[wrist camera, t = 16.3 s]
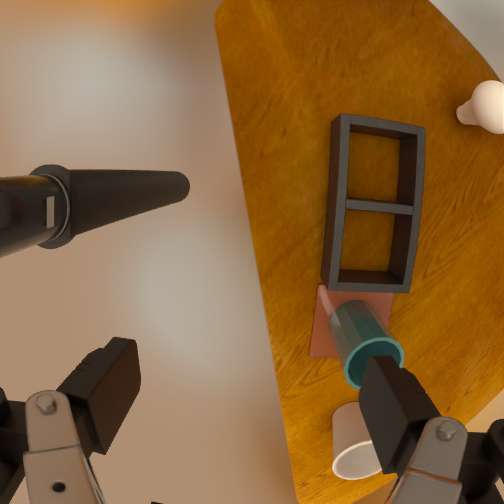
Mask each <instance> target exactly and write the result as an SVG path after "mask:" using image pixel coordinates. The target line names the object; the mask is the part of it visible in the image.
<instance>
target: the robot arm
mask: <svg viewBox="0 0 504 504" xmlns="http://www.w3.org/2000/svg"><path fill="white" fill-rule="evenodd" d="M70 217H71V200H70V195H69V192H68V190H67V188H66V186H65V184H64V183H63V182H62V181H61V180H60V179H59V178H58V177H57V176H55V175H52V174H39V175H28V176H12V177H0V258H3V257H5V256H8V255H10V254H13V253H16V252H18V251H21V250H24V249H26V248H29V247H32V246H35V245H38V244H41V243H43V242H47V241H51V240H54V239H56V238H58V237H60V236H61V235H62V234H63V233H64V231H65V230H66V228H67V226H68V224H69V221H70ZM140 385H141V374H140V366H139V358H138V350H137V344H136V341H135V340H132V339H126V338H120V337H113V338H112V339H111V340H110V342H109V343H108V344H107V345H106V346H105V347H104V348H98V349H96V350H95V351H93V352H91V353H89V354H88V355H87V356H86V357H85V358H84V359H83V360H82V362H81V363H80V364H79V365H78V366H77V367H76V369H75V370H73V371H72V372H71V374H70V375H69V376H68V377H67V378H66V379H65V380H64V382H63V383H62V384H61V385H60V386H59V387H58V388H57V389H56V391H54V390H45V391H40V392H37V393H35V394H33V395H32V396H31V397H29V398H28V400H27V402H19V401H9V400H7V398H6V396H5V393H4V391H3V389H2V388H1V387H0V504H9V503H10V501H11V499H12V497H13V496H14V494H15V492H16V490H17V488H18V487H19V485H20V483H21V482H22V480H23V478H24V477H25V476H26V483H27V489H28V494H29V500H30V504H107V503H106V500H105V498H104V496H103V493H102V491H101V488H100V486H99V483H98V481H97V478H96V475H95V473H94V470H93V467H92V465H91V462H90V459H89V457H90V455H91V454H92V452H97V453H100V454H103V455H106V453H107V451H108V449H109V447H110V445H111V443H112V441H113V439H114V437H115V436H116V434H117V432H118V430H119V428H120V426H121V424H122V422H123V421H124V419H125V417H126V415H127V413H128V411H129V409H130V408H131V406H132V404H133V402H134V400H135V398H136V396H137V395H138V392H139V390H140ZM420 385H421V384H420V383H419V381H418V380H417V378H416V377H415V375H413V374H412V373H410V372H409V371H408V370H406V369H405V368H400V367H399V365H398V364H397V362H396V361H395V359H394V358H393V356H392V355H375V356H370V357H369V359H368V362H367V365H366V369H365V373H364V377H363V381H362V384H361V388H360V392H359V408H360V410H361V413H362V416H363V419H364V421H365V424H366V427H367V429H368V432H369V435H370V438H371V440H372V443H373V446H374V449H375V452H376V455H377V457H378V460H379V463H380V466H381V469H382V472H383V475H384V474H390V473H397V476H398V478H397V480H396V482H395V484H394V486H393V487H392V489H391V491H390V493H389V495H388V497H387V498H386V500H385V502H384V504H504V501H503V499H502V497H501V495H500V493H499V491H498V489H497V487H496V485H495V483H496V482H497V481H498V479H499V478H501V480H502V482H503V483H504V419H499V420H496V421H494V422H493V423H492V424H491V426H490V428H489V429H488V431H487V433H477V432H467V430H466V428H465V426H464V425H463V424H462V423H461V422H459V421H458V420H456V419H454V418H451V417H446V416H441V414H440V413H439V411H438V410H437V408H436V407H435V405H434V404H433V402H432V401H431V399H430V398H429V396H428V395H427V393H426V394H425V390H424V389H423V387H422V386H420ZM151 504H162V503H156V502H151Z"/></svg>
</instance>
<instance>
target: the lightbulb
mask: <svg viewBox="0 0 504 504" xmlns="http://www.w3.org/2000/svg"><path fill="white" fill-rule="evenodd" d="M456 114H457V118H458V120H459V121H460V122H461V123H462V124H472V125H481V126H482V127H483V128H485V129H486V130H488V131H490V132H492V133H496V134H504V84H503V83H501V82H498V81H485V82H482V83H481V84H479V85H478V86H477V87H476V88H475V90H474V92H473V94H472V97H471V99H470V100H469V101H467V102H465V104H463V105H461V106H459V107H458V108H457V111H456Z"/></svg>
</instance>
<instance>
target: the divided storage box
mask: <svg viewBox="0 0 504 504" xmlns="http://www.w3.org/2000/svg"><path fill="white" fill-rule="evenodd" d="M350 132H355V133H363V134H370V135H377V136H383V137H389V138H395V139H400V159H399V178H398V192H397V202H391V201H382V200H373V199H363V198H353V197H346V195H347V180H348V163H349V141H350ZM424 165H425V128H424V127H420V126H415V125H410V124H405V123H400V122H394V121H389V120H383V119H377V118H371V117H364V116H357V115H350V114H342V113H341V114H340V115H338V116H337V117H336V118H335V119H334V120H333V121H331V146H330V166H329V183H328V198H327V212H326V224H325V236H324V246H323V257H322V267H321V278H322V280H323V282H324V284H325V286H326V288H327V290H328V291H349V292H380V293H409V291H410V285H411V280H412V274H413V268H414V262H415V255H416V249H417V241H418V234H419V225H420V216H421V207H422V195H423V182H424ZM345 209H353V210H364V211H375V212H385V213H395V214H396V215H395V224H394V233H393V241H392V249H391V256H390V263H389V270H388V272H378V271H358V270H339V268H340V259H341V250H342V241H343V231H344V220H345Z"/></svg>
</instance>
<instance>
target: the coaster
mask: <svg viewBox="0 0 504 504" xmlns="http://www.w3.org/2000/svg"><path fill="white" fill-rule="evenodd" d="M393 296H394V293H380V292H349V291H328V290H327V288H326V286H325V284H318V288H317V296H316V305H315V313H314V321H313V328H312V336H311V343H310V350H309V357H338V356H337V353H336V351H335V348H334V345H333V342H332V339H331V336H330V333H329V329H328V324H329V319H330V317H331V315H332V313H333V312H334V311H335V310H336V309H337V308H338V307H339V306H340V305H342V304H343V303H346V302H348V301H353V300H360V301H364V302H366V303H368V304H369V305H371V306H372V308H373V309H374V310H375V311H376V313H377V314H378V315H379V317H380V318H381V319H382V321H383V322H384V323H385V325H386V326H388V321H389V317H390V312H391V307H392V302H393Z"/></svg>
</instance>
